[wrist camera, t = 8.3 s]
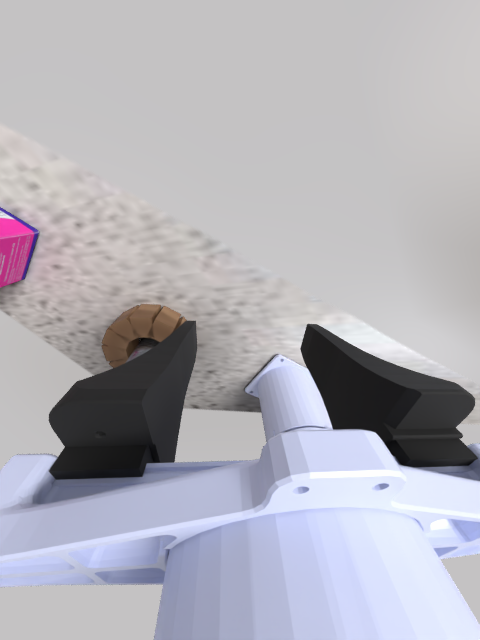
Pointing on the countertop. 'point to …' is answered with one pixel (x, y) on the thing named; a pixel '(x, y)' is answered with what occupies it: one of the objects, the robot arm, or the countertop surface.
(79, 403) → the robot arm
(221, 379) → the countertop surface
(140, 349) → the metal peg
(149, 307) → the walnut bead
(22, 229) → the supplement box
